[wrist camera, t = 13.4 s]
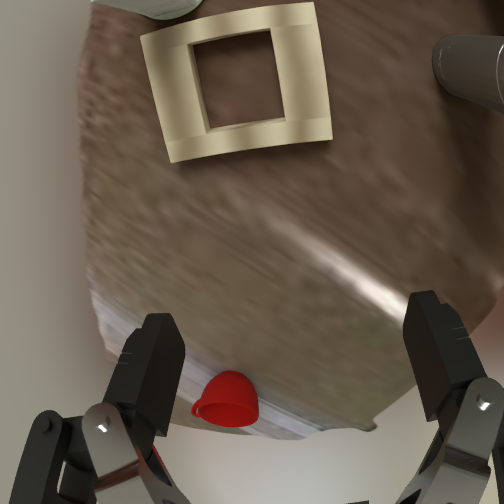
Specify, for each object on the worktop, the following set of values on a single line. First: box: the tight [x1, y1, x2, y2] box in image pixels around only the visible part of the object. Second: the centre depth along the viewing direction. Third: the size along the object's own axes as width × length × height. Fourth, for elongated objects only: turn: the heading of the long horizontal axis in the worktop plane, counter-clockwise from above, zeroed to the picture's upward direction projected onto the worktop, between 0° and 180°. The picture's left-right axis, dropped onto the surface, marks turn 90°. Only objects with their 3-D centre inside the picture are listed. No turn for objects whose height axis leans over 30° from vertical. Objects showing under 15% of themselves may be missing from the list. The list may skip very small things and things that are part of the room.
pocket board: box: [140, 2, 333, 163], centre depth 33 cm, size 20×17×3 cm
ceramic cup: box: [191, 371, 259, 427], centre depth 65 cm, size 13×17×10 cm
